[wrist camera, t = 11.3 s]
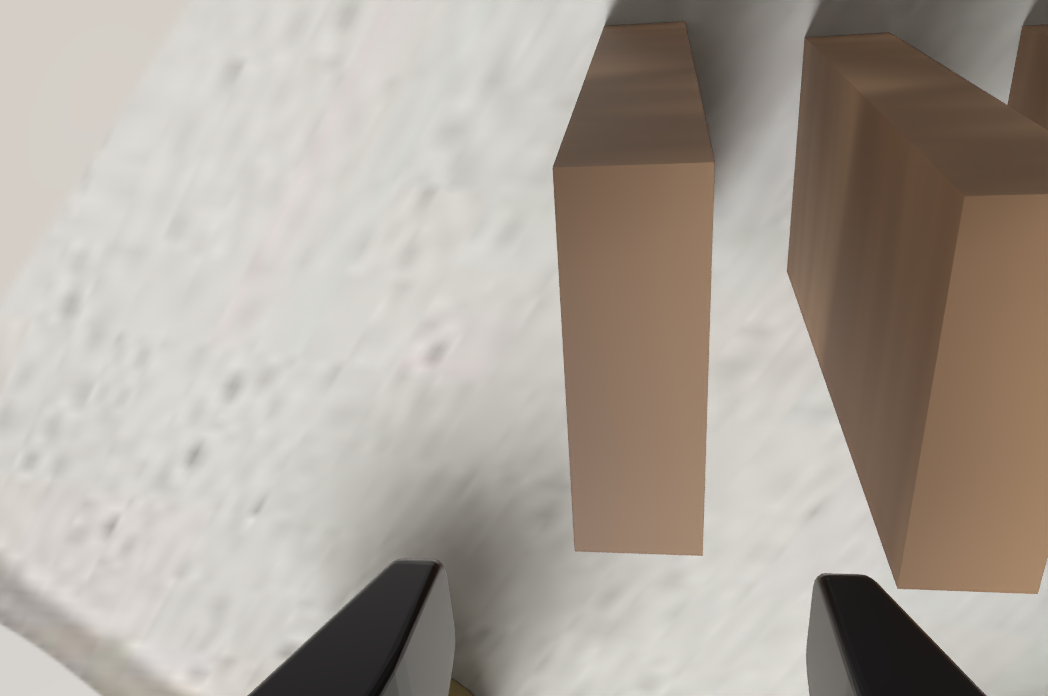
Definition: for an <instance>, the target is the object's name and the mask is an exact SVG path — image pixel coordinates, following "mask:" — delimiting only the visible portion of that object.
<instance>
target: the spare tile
mask: <svg viewBox="0 0 1048 696" xmlns="http://www.w3.org/2000/svg"><path fill="white" fill-rule="evenodd" d="M714 168H715V161H714V157H713V152H712V147H711V142H710V138H709V133H708V128H707V124H706V119H705V114H704V109H703V105H702V100H701V95H700V90H699V86H698V81H697V76H696V72H695V67H694V62H693V57H692V53H691V48H690V43H689V38H688V34H687V29H686V24H685V21H682V22H664V23H647V24H630V25H612V26H604V28H603V31H602V34H601V37H600V39H599V42H598V45H597V47H596V50H595V53H594V56H593V58H592V61H591V64H590V67H589V69H588V72H587V75H586V78H585V80H584V83H583V86H582V89H581V91H580V94H579V97H578V100H577V102H576V105H575V108H574V111H573V113H572V116H571V119H570V121H569V124H568V127H567V130H566V132H565V135H564V138H563V141H562V143H561V146H560V149H559V152H558V154H557V157H556V160H555V163H554V165H553V182H554V199H555V216H556V234H557V251H558V268H559V286H560V303H561V320H562V337H563V355H564V372H565V389H566V407H567V424H568V441H569V458H570V476H571V493H572V510H573V528H574V545H575V551H581V552H610V553H639V554H668V555H697V556H703V527H704V494H705V462H706V429H707V396H708V364H709V331H710V299H711V266H712V233H713V201H714Z"/></svg>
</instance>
